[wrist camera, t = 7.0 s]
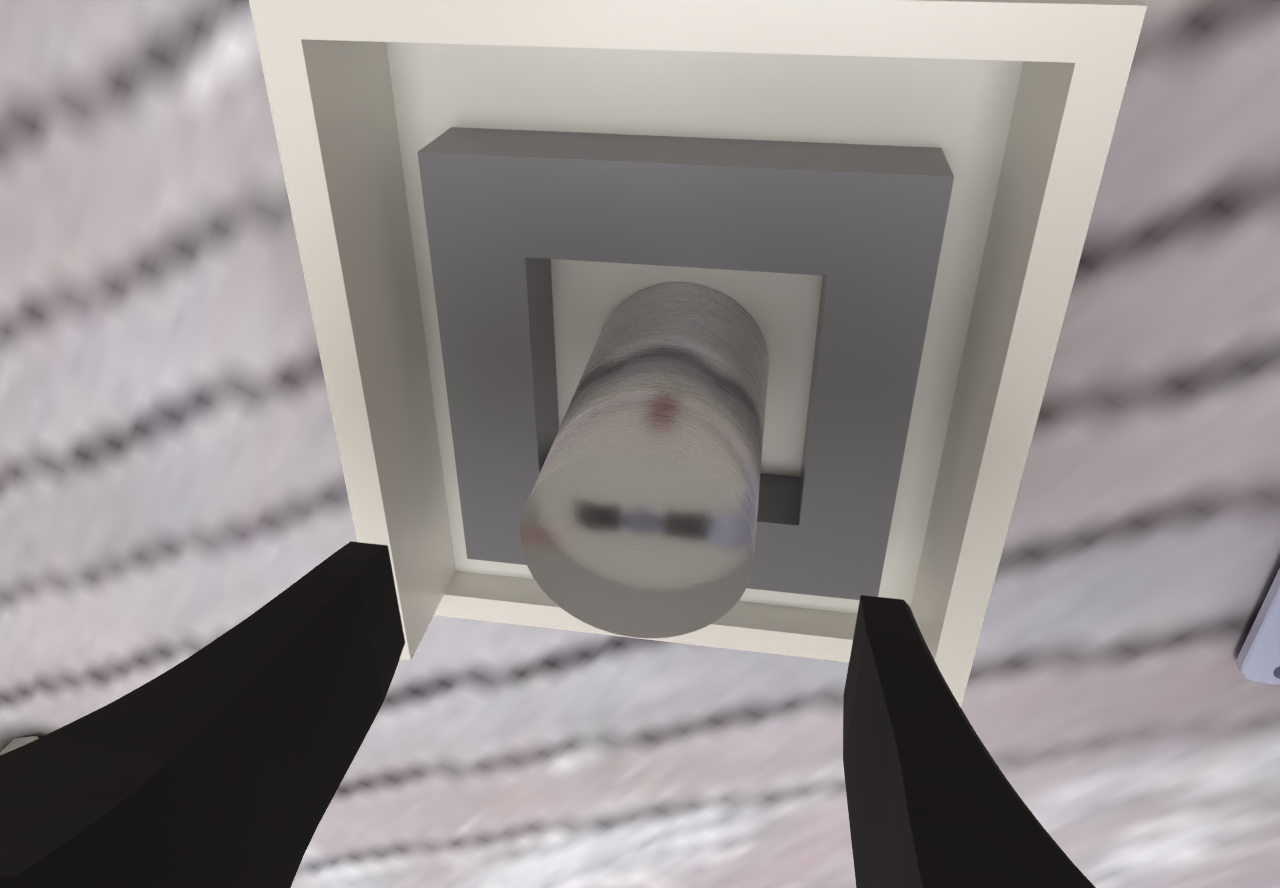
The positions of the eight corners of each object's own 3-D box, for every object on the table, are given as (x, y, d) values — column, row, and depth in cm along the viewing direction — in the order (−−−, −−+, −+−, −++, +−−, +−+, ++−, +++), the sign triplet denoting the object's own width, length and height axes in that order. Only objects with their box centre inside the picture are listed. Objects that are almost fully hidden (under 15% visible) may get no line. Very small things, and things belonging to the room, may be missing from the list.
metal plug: (772, 284, 20) (758, 458, 14) (764, 441, 22) (749, 647, 17) (592, 279, 21) (508, 444, 15) (601, 431, 23) (531, 628, 17)
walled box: (1081, -24, 17) (1147, 5, 14) (931, 632, 25) (949, 750, 22) (348, -38, 19) (246, -15, 15) (437, 578, 27) (384, 679, 24)
